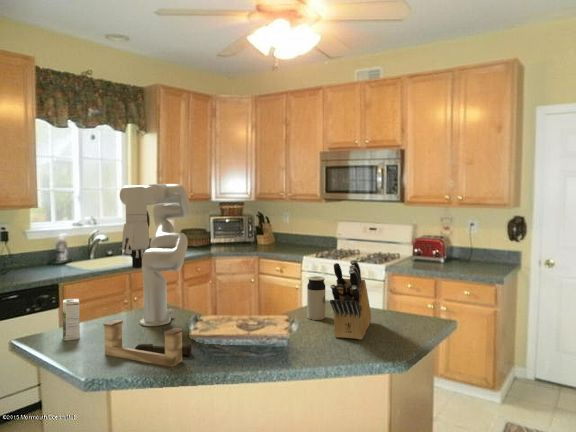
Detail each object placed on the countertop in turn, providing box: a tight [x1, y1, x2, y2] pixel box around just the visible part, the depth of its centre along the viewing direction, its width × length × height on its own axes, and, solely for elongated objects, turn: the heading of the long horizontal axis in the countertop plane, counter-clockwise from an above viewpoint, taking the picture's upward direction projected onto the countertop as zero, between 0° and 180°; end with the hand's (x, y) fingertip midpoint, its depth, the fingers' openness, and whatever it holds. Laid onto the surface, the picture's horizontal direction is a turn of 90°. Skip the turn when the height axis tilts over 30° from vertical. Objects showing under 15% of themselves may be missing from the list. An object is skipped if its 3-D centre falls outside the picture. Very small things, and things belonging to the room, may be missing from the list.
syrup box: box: [62, 298, 81, 342], centre depth 171 cm, size 6×6×14 cm
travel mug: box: [306, 275, 326, 321], centre depth 199 cm, size 8×8×18 cm
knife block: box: [329, 259, 372, 340], centre depth 178 cm, size 11×35×31 cm, turn 162°
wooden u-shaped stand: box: [103, 319, 184, 368], centre depth 151 cm, size 5×28×11 cm, turn 68°
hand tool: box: [134, 343, 192, 358], centre depth 153 cm, size 19×4×5 cm, turn 95°
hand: (137, 267), depth 169 cm, fingers closed
